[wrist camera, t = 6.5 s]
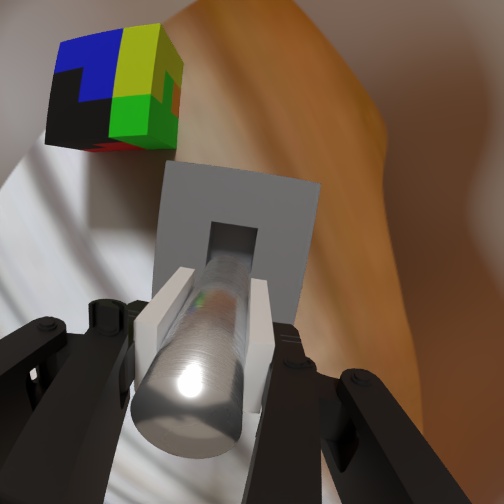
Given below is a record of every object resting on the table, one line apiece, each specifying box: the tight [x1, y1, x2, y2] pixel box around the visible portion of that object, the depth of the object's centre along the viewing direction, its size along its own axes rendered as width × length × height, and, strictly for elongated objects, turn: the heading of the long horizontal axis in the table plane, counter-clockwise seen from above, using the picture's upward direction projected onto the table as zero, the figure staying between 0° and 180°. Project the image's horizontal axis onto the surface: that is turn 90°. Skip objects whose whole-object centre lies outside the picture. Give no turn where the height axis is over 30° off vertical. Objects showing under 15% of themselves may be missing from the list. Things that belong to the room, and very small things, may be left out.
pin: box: [130, 255, 249, 459], centre depth 13 cm, size 3×3×13 cm
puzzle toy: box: [45, 23, 184, 152], centre depth 26 cm, size 10×10×10 cm
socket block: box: [152, 160, 321, 325], centre depth 31 cm, size 14×14×5 cm
